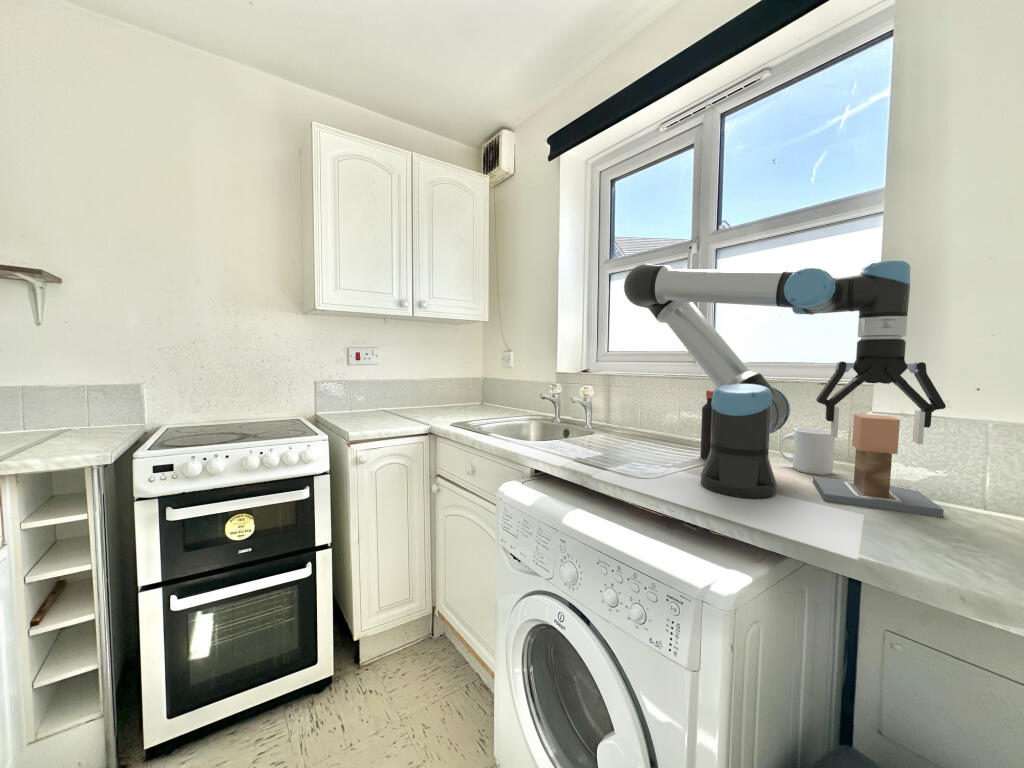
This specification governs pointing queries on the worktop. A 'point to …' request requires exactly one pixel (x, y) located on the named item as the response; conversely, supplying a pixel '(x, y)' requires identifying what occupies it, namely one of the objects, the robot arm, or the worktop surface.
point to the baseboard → (897, 497)
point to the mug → (811, 450)
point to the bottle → (706, 426)
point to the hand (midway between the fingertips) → (874, 439)
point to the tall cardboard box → (873, 473)
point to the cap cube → (876, 433)
